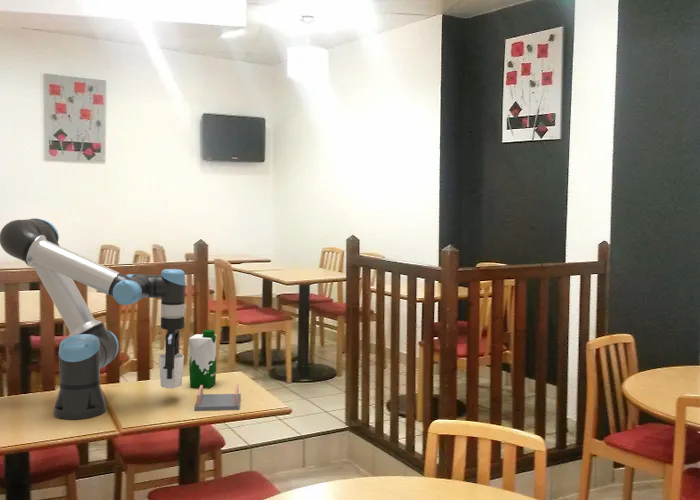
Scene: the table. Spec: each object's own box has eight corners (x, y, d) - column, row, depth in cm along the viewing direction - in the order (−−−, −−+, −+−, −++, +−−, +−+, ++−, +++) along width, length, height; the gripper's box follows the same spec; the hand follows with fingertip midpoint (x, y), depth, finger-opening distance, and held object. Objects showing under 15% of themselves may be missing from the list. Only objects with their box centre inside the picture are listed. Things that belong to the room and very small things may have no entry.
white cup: (179, 389, 221) (180, 359, 220) (155, 388, 221) (156, 358, 221) (186, 382, 229) (186, 353, 228) (162, 381, 229) (163, 352, 228)
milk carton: (211, 389, 240) (211, 333, 238) (186, 388, 240) (186, 332, 239) (218, 382, 248) (218, 328, 247) (194, 381, 249) (194, 327, 248)
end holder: (194, 410, 215) (194, 396, 215) (198, 397, 229) (198, 384, 229) (239, 409, 217) (239, 395, 217) (240, 397, 231) (240, 383, 230)
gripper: (180, 322, 214) (179, 393, 216) (187, 311, 234) (186, 376, 236) (156, 321, 213) (154, 393, 215) (165, 311, 233) (164, 376, 235)
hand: (171, 384), depth 225 cm, fingers closed on white cup, 7 cm apart
